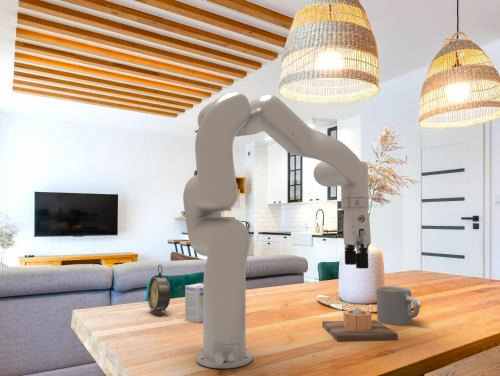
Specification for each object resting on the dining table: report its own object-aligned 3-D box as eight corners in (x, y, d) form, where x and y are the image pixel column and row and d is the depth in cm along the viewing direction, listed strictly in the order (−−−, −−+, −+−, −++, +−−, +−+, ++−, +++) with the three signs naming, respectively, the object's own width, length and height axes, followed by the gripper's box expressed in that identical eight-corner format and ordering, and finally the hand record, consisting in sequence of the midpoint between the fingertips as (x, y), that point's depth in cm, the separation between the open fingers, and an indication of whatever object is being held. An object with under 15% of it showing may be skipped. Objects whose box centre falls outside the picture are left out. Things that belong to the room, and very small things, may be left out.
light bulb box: (208, 313, 137) (208, 281, 138) (223, 316, 133) (223, 283, 134) (183, 319, 129) (184, 285, 130) (198, 323, 125) (199, 287, 126)
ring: (374, 330, 110) (374, 315, 111) (349, 330, 110) (348, 315, 110) (365, 323, 117) (365, 309, 118) (341, 324, 117) (341, 310, 117)
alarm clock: (146, 311, 141) (147, 263, 142) (161, 309, 144) (162, 262, 145) (157, 317, 132) (157, 266, 133) (173, 315, 134) (173, 265, 136)
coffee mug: (370, 319, 129) (370, 287, 130) (396, 316, 132) (395, 285, 133) (400, 329, 116) (399, 293, 117) (427, 326, 120) (426, 291, 121)
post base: (397, 339, 106) (397, 314, 107) (337, 341, 105) (336, 315, 106) (375, 325, 121) (375, 303, 122) (322, 326, 120) (322, 303, 121)
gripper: (379, 203, 108) (381, 269, 106) (357, 206, 125) (358, 263, 124) (351, 203, 107) (353, 270, 106) (333, 206, 124) (334, 263, 123)
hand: (356, 266), depth 115 cm, fingers open, 9 cm apart
